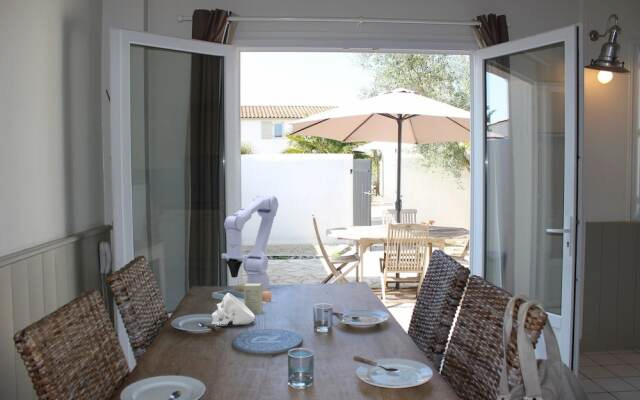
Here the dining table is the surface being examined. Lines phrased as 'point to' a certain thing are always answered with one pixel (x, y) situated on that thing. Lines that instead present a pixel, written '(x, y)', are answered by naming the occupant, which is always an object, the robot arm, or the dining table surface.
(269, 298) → the peach rounded cylinder
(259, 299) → the skincare box
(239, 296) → the slate board with cubby
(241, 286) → the beech block
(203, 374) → the dining table surface
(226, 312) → the skull bowl
